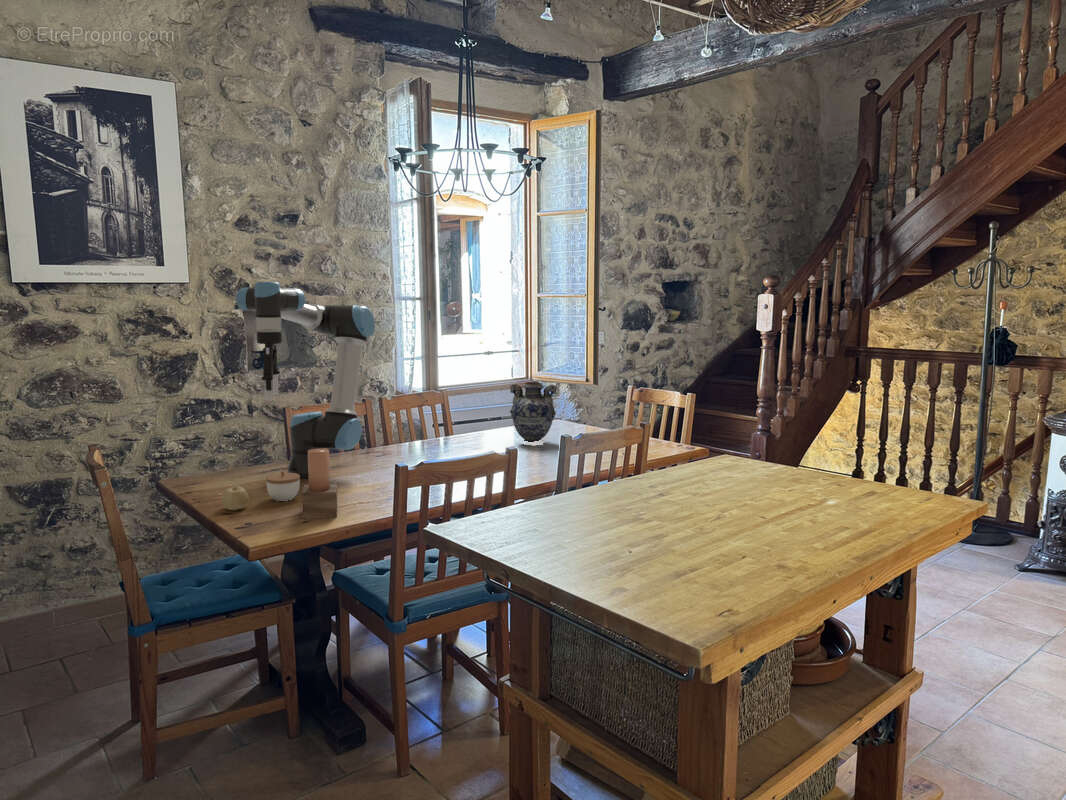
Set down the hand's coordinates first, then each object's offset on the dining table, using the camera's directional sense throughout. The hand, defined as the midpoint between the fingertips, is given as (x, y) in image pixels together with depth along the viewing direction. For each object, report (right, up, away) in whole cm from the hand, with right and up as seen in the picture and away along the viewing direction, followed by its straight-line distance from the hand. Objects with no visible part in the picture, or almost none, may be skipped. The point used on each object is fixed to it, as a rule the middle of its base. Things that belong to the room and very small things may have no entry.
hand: (271, 397), depth 240 cm
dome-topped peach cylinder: (+17, -28, -7) cm, 34 cm away
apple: (-11, -36, -2) cm, 37 cm away
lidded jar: (+1, -34, +9) cm, 35 cm away
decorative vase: (+83, -21, +101) cm, 133 cm away
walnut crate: (+17, -36, -6) cm, 40 cm away
